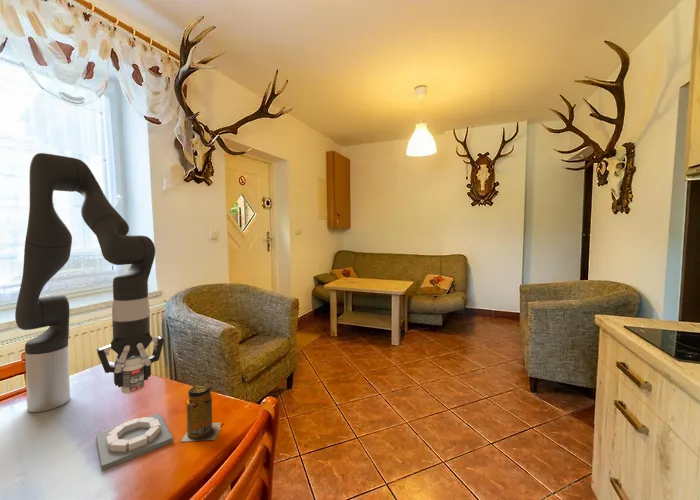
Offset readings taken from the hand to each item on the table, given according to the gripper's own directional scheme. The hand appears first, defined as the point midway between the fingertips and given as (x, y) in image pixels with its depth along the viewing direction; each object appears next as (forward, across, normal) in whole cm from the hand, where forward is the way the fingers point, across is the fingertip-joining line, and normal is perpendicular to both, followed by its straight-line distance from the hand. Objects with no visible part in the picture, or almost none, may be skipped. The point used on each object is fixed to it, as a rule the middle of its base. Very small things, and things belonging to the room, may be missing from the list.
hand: (132, 382), depth 77 cm
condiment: (+16, -14, +8) cm, 22 cm away
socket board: (+15, 0, 0) cm, 15 cm away
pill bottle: (+2, 0, 0) cm, 2 cm away
